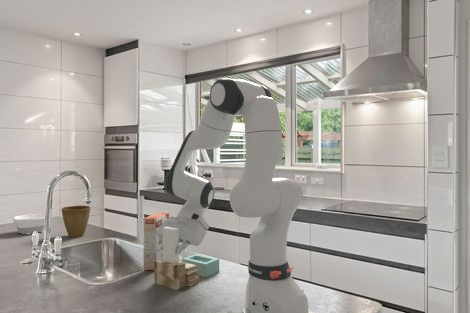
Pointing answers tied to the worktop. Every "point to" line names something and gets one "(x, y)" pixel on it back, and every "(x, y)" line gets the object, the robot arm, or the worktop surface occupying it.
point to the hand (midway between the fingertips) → (169, 251)
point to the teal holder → (203, 264)
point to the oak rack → (169, 274)
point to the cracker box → (153, 239)
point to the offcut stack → (190, 274)
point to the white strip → (170, 245)
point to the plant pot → (76, 219)
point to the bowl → (30, 223)
